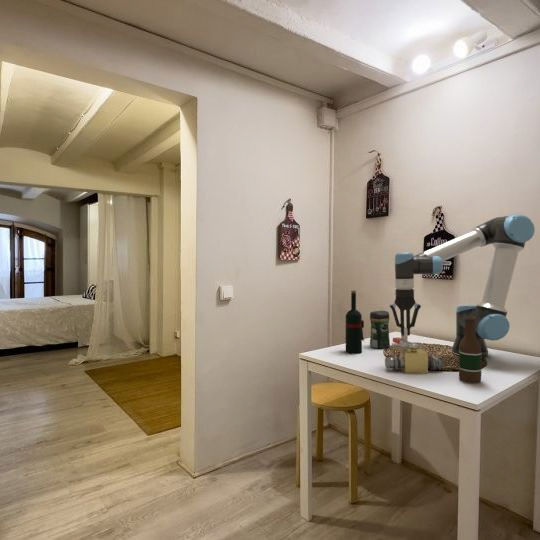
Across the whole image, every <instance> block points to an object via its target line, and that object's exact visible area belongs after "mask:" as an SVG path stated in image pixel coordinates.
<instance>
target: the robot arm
mask: <svg viewBox="0 0 540 540" xmlns="http://www.w3.org/2000/svg"><path fill="white" fill-rule="evenodd" d="M535 229H536V228H535V224H534V223H533V221H532V220H531V218H529V217H528V216H527V215H523V214H511V215H505V216H499V217H495V218H491V219H490V220H487V221H485V222H483V223H481V224H479V225H477V226H475V227H473V228H471V230H470V231H468V232H467V233H464V234H461V235H459V236H457V237H455V238H452V239H450V240H448V241H446V242H444V243H441V244H439V245H437V246H434V247H432V248H430V249H427V250H424V251H423V252H420V253H418V254H416V255H414V253H413V252H397V253H396V254H395V256H394V269H395V270H394V271H395V272H394V274H395V275H394V276H395V278H394V279H395V281H394V282H395V283H394V285H395V288H396V289H395V291H394V292H395V299H394V302H393V303H390V304H389V305H388V306H389V308H390V309H391V310H392V315H393V317H394V321H395V325H396V327H398V328H400V336H401V335H402V336H404V340H406V341H409V339H408V336H409V337H410V336H411V329H412V328H415V326H416V321H417V317H418V314H419V310H420V309H421V307H422V306H421V304H419V303H417V302H416V300H415V289H414V287H415V285H414V284H415V275H435V274H440V273H441V272H442V271H443V270H444V262H445V261H447V260H450V259H452V258H454V257H456V256H459V255H462V254H464V253H466V252H469V251H470V250H473V249H475V248H477V247H480V248H483V247H485V246H488V245H493V248H494V249H495V250H494V254H493V257H492V261H491V265H490V268H489V271H488V272H489V273H488V277H487V280H486V284H485V288H484V291H483V295H482V300H481V302H480V303H477V305H459V306H457V307H456V311H455V314H456V315H455V316H456V318H455V319H456V321H455V322H456V323H455V324H456V325H455V327H456V329H455V330H456V331H455V332H456V337H455V339H454V342H453V345H452V347H451V353H452V352H454V353H457V354H459V345H460V343H461V341H462V339H463V338H464V335H465V324H466V320H465V317H475V319H476V321H475V330H476V339H477V341H478V342H479V344H480V347H481V353H482V354H481V357H482V358H481V359H485V358H488V357H489V349H488V346H487V343H486V340H487V341H494V342H495V341H499V340H501V339H503V338H505V336H507V334H508V333H509V331H510V322H509V320H508V318H507V316H508V315H507V314H508V310H507V309H506V308H505V305H506V302H507V299H508V294H509V291H510V286H511V282H512V279H513V274H514V271H515V267H516V263H517V260H518V255H519V252H521V251H523V250H524V249H525V245H526V242H528V241H530V240H531V239H532V238H533V236H534V235H535ZM396 306H397V308H398V309H399V314H400V316H399V317H400V319H399V318H398V314H397V310H396ZM413 307H414V310H413V312H412V318H411V310H412V308H413ZM405 313H406V315H405ZM405 316H406V317H405ZM405 318H406V320H405ZM405 324H406V327H405Z"/></svg>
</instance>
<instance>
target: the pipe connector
mask: <svg viewBox="0 0 540 540" xmlns="http://www.w3.org/2000/svg"><path fill="white" fill-rule="evenodd" d="M400 338H402V339H404V336H402V335H401V334H400ZM391 346H392V348H400V349H409V348H408V347H407V346H404V345H402V344H397V343H394V342H392V343H391Z"/></svg>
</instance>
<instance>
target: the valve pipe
mask: <svg viewBox="0 0 540 540" xmlns="http://www.w3.org/2000/svg"><path fill="white" fill-rule="evenodd" d="M384 365H385V368H386V369H392V370H393V371H394V372H397V371H399V369H400V370H401V371H403V373H404V374H428V373H429V370H430V371H432V372H435V371H436V370H437V369H442V368H443V367H444V361H443V358H442V357H441V356H435V354H429V353H428V352H427V351H426V350H424V349H422V348H419V349H410V348H408V349H401V348H399V356H398V355H397V354H391V357H390V356H387V357H386V356H385V358H384ZM429 368H430V369H429ZM428 369H429V370H428Z"/></svg>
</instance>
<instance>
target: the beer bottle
mask: <svg viewBox="0 0 540 540" xmlns="http://www.w3.org/2000/svg"><path fill="white" fill-rule="evenodd" d="M465 320H466V324H465V335H464V338H463V339H462V341H461V343H460V345H459V356H458V378H459V381H461V382H462V383H463V382H464V383H466V384H479V383H481V382H482V358H481V354H482V353H481V347H480V344H479V342H478V341H477V339H476V330H475V321H476V319H475V317H465Z"/></svg>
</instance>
